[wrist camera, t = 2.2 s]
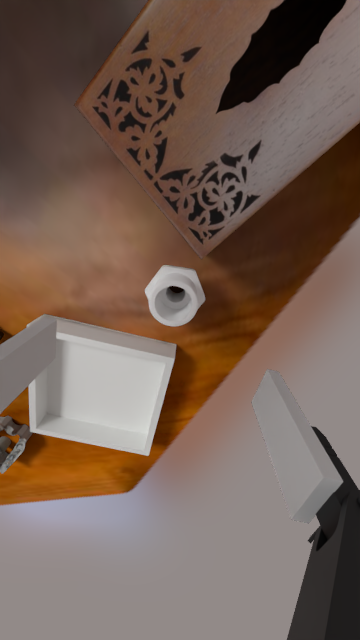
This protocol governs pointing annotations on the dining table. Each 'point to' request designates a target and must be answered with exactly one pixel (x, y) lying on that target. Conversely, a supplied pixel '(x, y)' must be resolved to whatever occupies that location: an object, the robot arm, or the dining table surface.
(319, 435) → the robot arm
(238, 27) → the tissue box cover
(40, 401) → the tray
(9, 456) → the grey open frame part
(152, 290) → the pipe fitting
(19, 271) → the dining table surface
